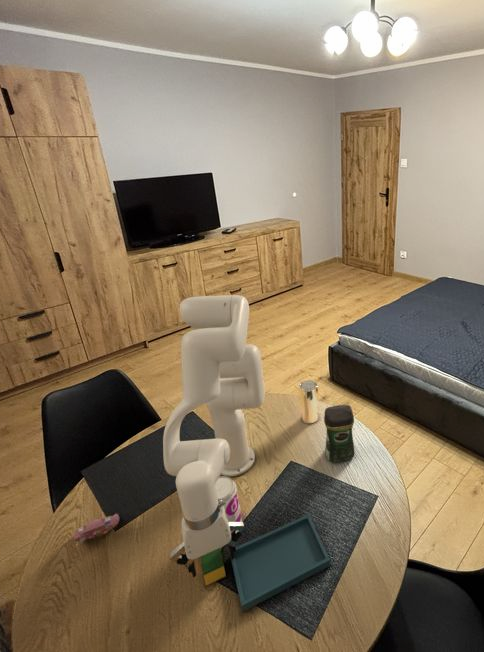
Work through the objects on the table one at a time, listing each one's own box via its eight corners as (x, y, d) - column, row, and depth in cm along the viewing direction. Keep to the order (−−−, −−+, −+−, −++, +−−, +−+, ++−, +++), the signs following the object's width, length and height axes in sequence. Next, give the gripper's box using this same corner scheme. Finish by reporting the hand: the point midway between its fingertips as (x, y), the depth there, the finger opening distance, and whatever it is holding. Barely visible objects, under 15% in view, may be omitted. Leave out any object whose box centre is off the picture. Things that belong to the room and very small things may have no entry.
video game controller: (79, 548, 97) (70, 542, 92) (78, 529, 99) (70, 523, 94) (121, 531, 101) (115, 525, 96) (120, 513, 103) (114, 507, 98)
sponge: (201, 558, 92) (198, 546, 91) (220, 550, 94) (218, 538, 92) (206, 585, 87) (202, 573, 85) (225, 576, 88) (223, 564, 87)
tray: (230, 556, 93) (229, 550, 92) (309, 519, 102) (308, 514, 101) (242, 612, 82) (241, 606, 81) (330, 565, 90) (330, 559, 89)
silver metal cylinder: (316, 425, 136) (315, 392, 130) (298, 423, 137) (296, 390, 131) (321, 413, 142) (320, 380, 136) (304, 411, 144) (302, 378, 138)
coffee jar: (351, 443, 128) (351, 399, 120) (356, 460, 121) (356, 415, 113) (323, 447, 126) (322, 403, 119) (327, 465, 119) (326, 420, 112)
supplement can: (248, 518, 102) (241, 479, 96) (230, 546, 95) (223, 505, 89) (223, 509, 105) (215, 471, 99) (204, 536, 98) (195, 496, 92)
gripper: (237, 484, 89) (245, 532, 96) (159, 514, 82) (173, 565, 89) (244, 509, 83) (252, 559, 90) (161, 544, 76) (176, 595, 83)
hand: (213, 561), depth 89 cm, fingers open, 8 cm apart
